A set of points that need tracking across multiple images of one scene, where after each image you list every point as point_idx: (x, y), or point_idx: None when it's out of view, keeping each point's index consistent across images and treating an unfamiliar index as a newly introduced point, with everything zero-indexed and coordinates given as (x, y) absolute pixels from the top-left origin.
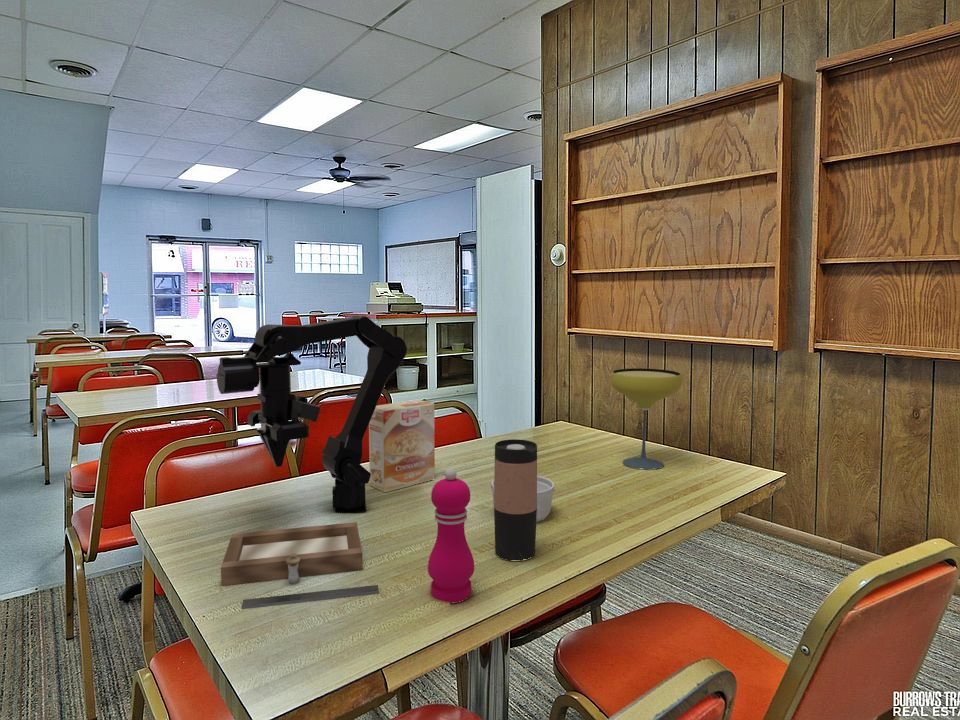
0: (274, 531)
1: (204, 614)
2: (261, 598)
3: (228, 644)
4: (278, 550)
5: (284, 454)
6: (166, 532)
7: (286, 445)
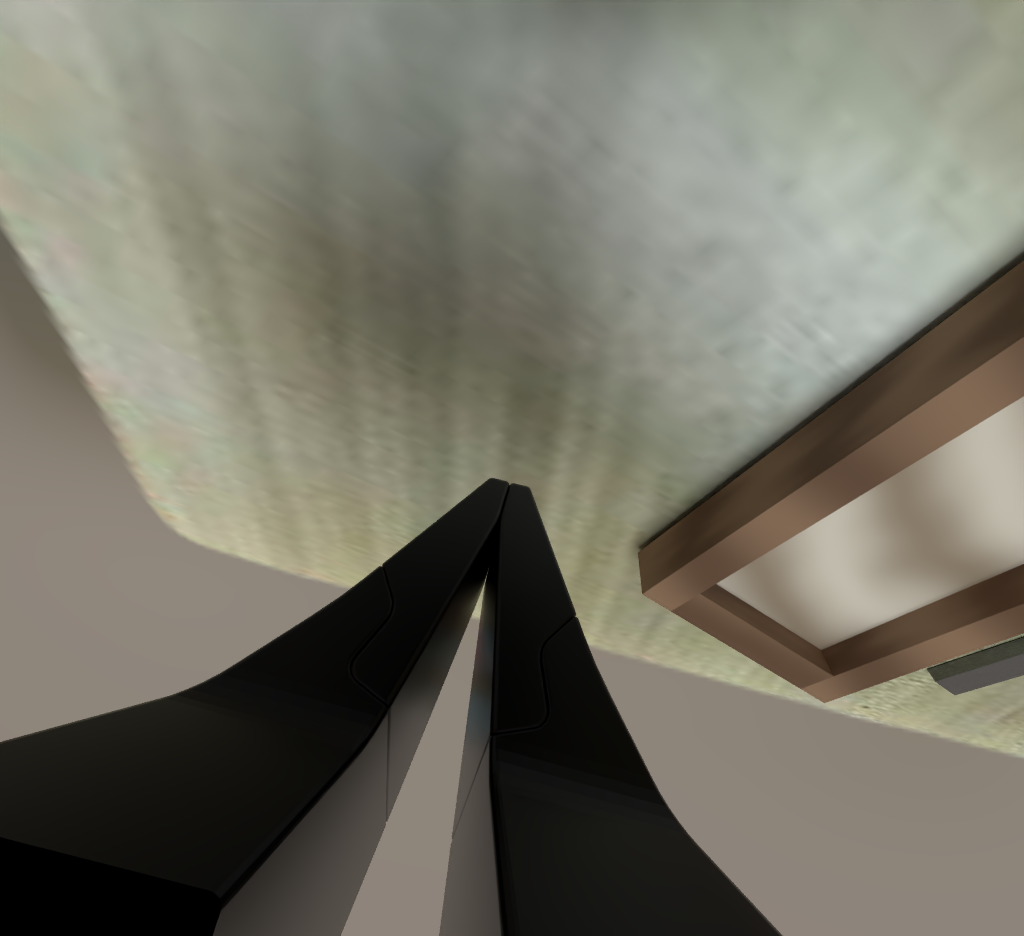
0: (773, 523)
1: (860, 704)
2: (987, 668)
3: (1010, 737)
4: (851, 541)
5: (561, 579)
6: (363, 562)
7: (613, 719)
